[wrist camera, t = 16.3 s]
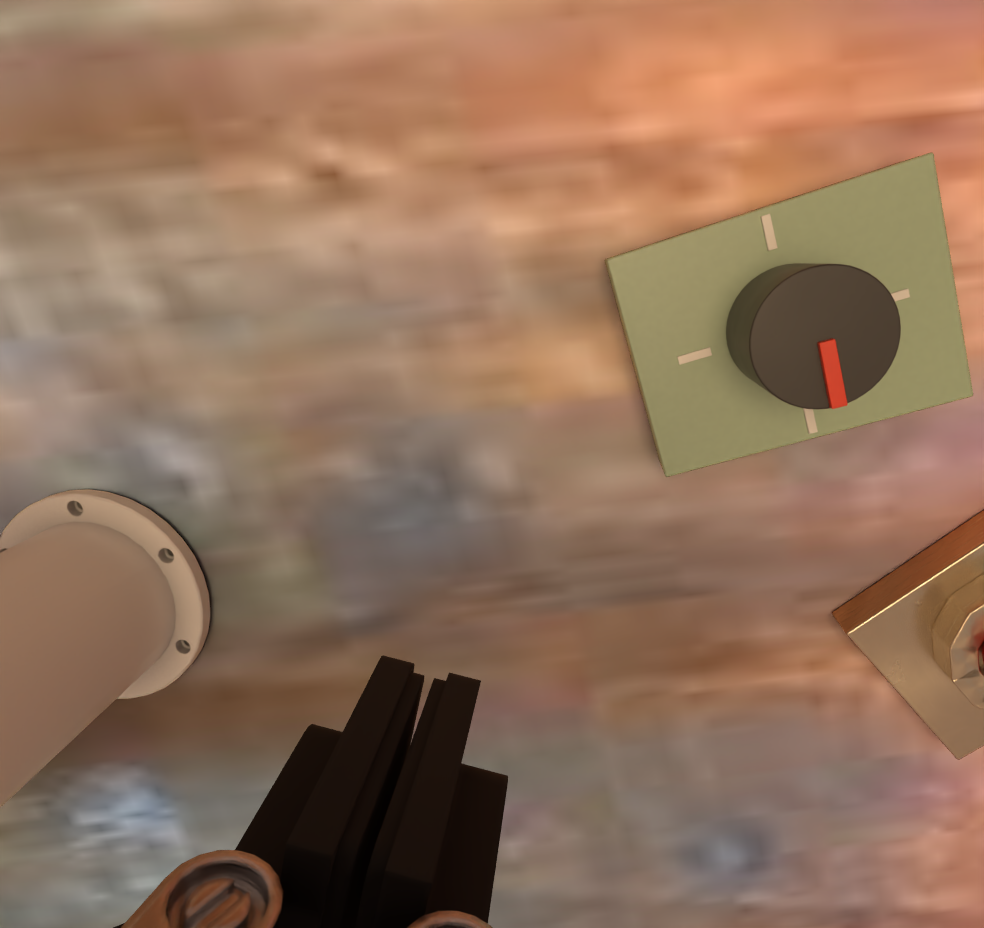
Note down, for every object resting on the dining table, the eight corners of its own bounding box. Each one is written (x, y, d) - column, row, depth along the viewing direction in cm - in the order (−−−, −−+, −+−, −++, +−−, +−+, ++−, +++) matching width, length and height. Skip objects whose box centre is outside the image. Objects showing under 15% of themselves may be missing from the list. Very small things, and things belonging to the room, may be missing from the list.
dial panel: (659, 460, 35) (666, 478, 32) (604, 259, 33) (606, 259, 30) (940, 384, 33) (976, 396, 30) (901, 161, 31) (936, 150, 28)
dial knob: (713, 284, 30) (737, 289, 25) (843, 246, 29) (892, 243, 24) (740, 403, 31) (767, 427, 27) (865, 369, 30) (916, 389, 26)
